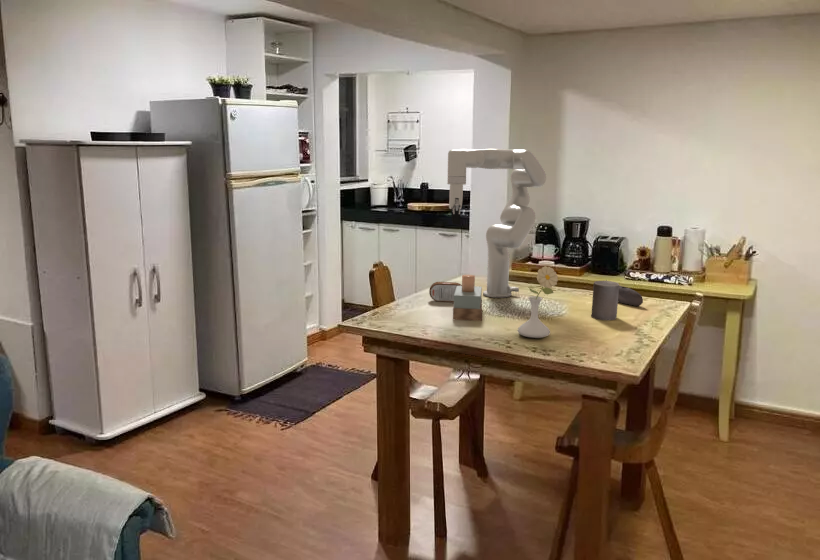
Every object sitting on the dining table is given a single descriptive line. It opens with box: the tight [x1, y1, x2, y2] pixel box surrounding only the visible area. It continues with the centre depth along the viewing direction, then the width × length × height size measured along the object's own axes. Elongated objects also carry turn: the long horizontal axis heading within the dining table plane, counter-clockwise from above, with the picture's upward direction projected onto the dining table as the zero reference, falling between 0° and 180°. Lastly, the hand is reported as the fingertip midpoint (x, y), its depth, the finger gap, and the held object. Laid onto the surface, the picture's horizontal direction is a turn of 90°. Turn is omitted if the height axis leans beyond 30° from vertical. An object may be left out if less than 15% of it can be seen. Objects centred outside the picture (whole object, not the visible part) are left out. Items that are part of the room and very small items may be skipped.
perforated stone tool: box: [618, 285, 644, 307], centre depth 282 cm, size 15×5×7 cm, turn 29°
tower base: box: [452, 297, 483, 321], centre depth 263 cm, size 11×19×5 cm, turn 175°
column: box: [461, 274, 476, 292], centre depth 261 cm, size 5×5×6 cm
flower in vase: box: [516, 265, 559, 339], centre depth 231 cm, size 13×11×25 cm
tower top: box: [453, 285, 483, 309], centre depth 262 cm, size 10×18×5 cm, turn 172°
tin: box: [428, 281, 462, 303], centre depth 284 cm, size 15×3×8 cm, turn 84°
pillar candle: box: [590, 279, 620, 321], centre depth 259 cm, size 10×10×15 cm
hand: (455, 222), depth 274 cm, fingers open, 9 cm apart
